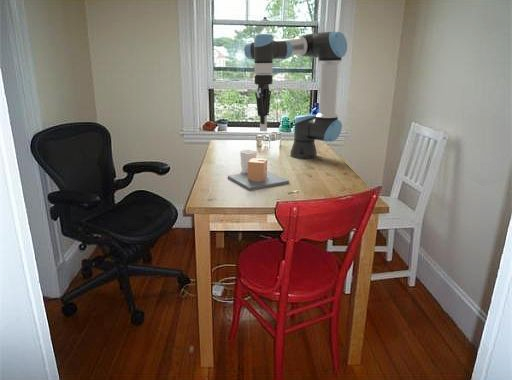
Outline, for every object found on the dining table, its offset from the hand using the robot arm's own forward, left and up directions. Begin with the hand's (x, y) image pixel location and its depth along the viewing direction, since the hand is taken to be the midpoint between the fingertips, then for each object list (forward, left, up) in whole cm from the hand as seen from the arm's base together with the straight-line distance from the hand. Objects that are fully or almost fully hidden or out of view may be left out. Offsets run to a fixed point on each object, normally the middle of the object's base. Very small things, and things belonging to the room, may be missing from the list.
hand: (263, 130), depth 158 cm
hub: (+4, +2, -22) cm, 22 cm away
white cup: (0, -13, -22) cm, 25 cm away
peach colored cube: (+4, +2, -20) cm, 21 cm away
